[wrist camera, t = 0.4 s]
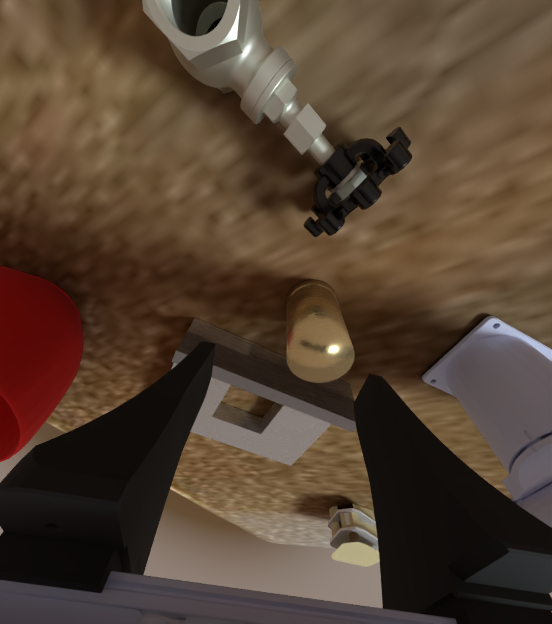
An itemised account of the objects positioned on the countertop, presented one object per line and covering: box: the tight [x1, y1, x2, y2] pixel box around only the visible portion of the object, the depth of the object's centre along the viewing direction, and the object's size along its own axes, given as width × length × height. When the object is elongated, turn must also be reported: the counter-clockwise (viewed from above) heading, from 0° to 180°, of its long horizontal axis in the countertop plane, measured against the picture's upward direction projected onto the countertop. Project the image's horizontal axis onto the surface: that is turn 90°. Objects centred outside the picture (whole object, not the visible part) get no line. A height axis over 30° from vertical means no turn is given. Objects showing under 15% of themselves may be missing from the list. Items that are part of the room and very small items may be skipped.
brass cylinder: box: [287, 280, 355, 383], centre depth 19 cm, size 4×4×7 cm
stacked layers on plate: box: [328, 504, 380, 567], centre depth 36 cm, size 10×9×6 cm
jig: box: [172, 318, 356, 466], centre depth 26 cm, size 16×12×4 cm
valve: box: [142, 0, 412, 237], centre depth 13 cm, size 7×7×12 cm
